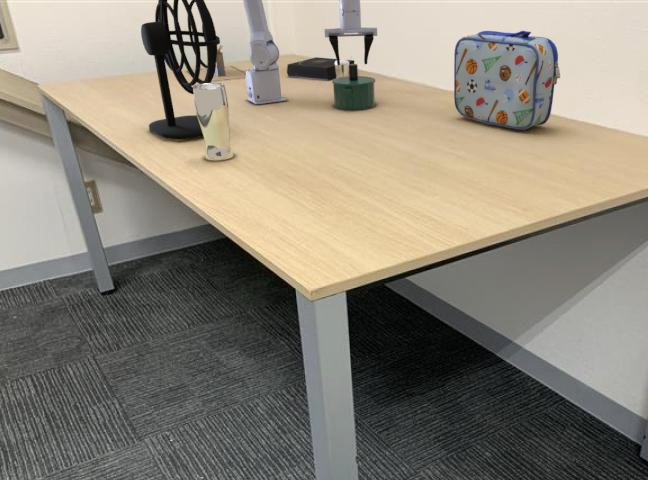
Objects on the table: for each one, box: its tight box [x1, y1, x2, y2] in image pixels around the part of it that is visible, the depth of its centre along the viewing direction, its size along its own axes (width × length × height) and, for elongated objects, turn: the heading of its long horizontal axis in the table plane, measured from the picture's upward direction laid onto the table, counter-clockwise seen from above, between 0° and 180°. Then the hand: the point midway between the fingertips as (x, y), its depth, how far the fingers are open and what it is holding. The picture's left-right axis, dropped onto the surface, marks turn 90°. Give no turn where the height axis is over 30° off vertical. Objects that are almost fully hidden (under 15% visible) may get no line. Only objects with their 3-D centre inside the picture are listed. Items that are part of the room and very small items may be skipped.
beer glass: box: [192, 82, 234, 162], centre depth 144 cm, size 7×7×15 cm
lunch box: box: [453, 30, 561, 130], centre depth 162 cm, size 28×10×22 cm, turn 45°
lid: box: [331, 63, 376, 86], centre depth 185 cm, size 12×12×5 cm
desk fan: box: [140, 0, 221, 141], centre depth 159 cm, size 27×18×35 cm, turn 36°
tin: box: [332, 82, 376, 111], centre depth 188 cm, size 11×17×6 cm
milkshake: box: [334, 55, 352, 79], centre depth 205 cm, size 4×5×10 cm
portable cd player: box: [286, 57, 355, 81], centre depth 231 cm, size 16×17×4 cm
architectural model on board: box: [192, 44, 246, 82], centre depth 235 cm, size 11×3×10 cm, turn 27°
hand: (352, 64), depth 189 cm, fingers open, 7 cm apart
